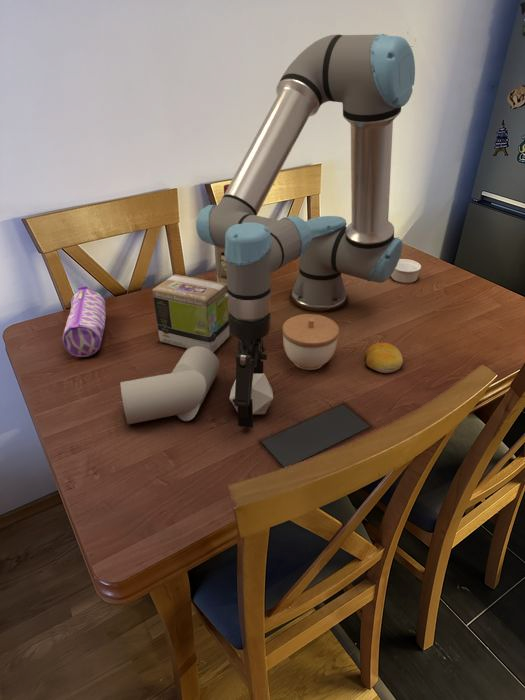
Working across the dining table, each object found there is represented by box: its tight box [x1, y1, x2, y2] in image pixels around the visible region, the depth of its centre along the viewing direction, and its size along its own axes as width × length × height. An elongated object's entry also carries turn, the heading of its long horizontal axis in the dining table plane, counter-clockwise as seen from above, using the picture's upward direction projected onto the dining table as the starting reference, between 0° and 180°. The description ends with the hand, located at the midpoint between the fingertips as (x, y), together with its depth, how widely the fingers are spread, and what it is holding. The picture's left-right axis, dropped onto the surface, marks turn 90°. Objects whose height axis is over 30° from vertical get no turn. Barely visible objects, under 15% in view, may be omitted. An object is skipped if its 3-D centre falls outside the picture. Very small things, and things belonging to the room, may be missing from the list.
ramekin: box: [390, 258, 422, 284], centre depth 150 cm, size 9×9×4 cm
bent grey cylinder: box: [120, 346, 221, 425], centre depth 99 cm, size 18×11×20 cm
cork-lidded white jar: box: [282, 313, 340, 371], centre depth 111 cm, size 13×13×11 cm
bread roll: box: [365, 342, 404, 374], centre depth 112 cm, size 8×9×4 cm
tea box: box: [151, 273, 230, 353], centre depth 118 cm, size 15×10×15 cm
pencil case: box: [62, 285, 107, 358], centre depth 121 cm, size 22×9×10 cm, turn 14°
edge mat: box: [260, 404, 371, 468], centre depth 94 cm, size 20×8×1 cm, turn 122°
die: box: [229, 373, 274, 415], centre depth 98 cm, size 8×9×10 cm
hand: (251, 405), depth 100 cm, fingers open, 12 cm apart
